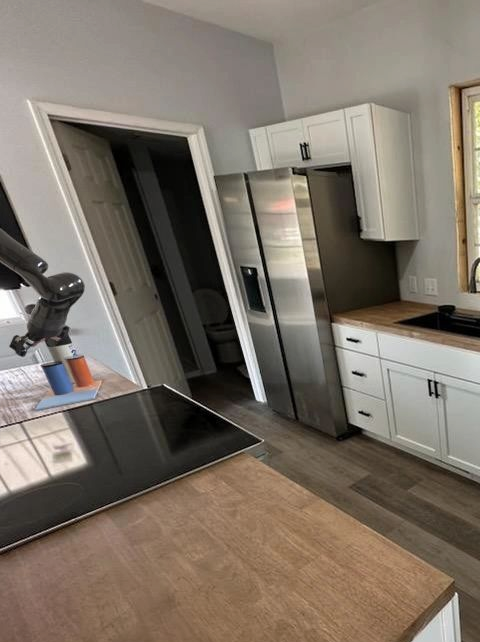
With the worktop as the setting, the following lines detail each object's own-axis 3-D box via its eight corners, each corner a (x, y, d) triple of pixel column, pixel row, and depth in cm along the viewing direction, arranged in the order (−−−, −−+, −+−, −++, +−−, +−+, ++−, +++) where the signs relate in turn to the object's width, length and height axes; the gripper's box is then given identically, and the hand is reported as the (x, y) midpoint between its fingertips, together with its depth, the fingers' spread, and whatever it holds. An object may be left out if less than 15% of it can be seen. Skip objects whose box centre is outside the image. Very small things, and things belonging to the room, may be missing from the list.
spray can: (85, 381, 159) (64, 331, 152) (61, 385, 156) (38, 334, 149) (90, 377, 164) (69, 328, 157) (66, 381, 161) (44, 331, 154)
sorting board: (35, 410, 133) (34, 409, 133) (50, 391, 151) (49, 389, 150) (94, 399, 141) (93, 397, 141) (101, 381, 159) (101, 380, 159)
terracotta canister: (75, 388, 151) (62, 359, 147) (77, 384, 154) (65, 356, 151) (94, 384, 154) (82, 356, 150) (96, 381, 157) (84, 353, 154)
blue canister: (52, 396, 143) (38, 366, 139) (55, 392, 147) (42, 363, 143) (73, 392, 146) (60, 363, 142) (75, 388, 150) (63, 360, 146)
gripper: (62, 305, 136) (50, 334, 143) (8, 318, 123) (-2, 349, 130) (82, 321, 138) (69, 349, 144) (32, 336, 125) (20, 366, 132)
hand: (35, 349), depth 137 cm, fingers open, 8 cm apart
